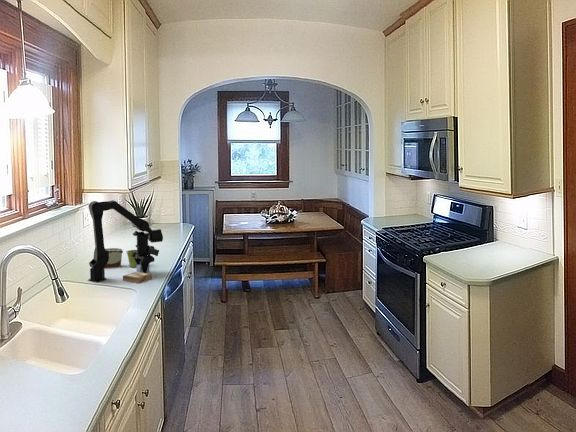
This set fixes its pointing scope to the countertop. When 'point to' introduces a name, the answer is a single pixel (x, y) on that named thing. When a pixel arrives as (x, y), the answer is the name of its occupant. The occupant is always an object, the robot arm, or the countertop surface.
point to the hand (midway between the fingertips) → (143, 272)
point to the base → (137, 277)
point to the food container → (114, 258)
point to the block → (139, 269)
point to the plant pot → (131, 258)
